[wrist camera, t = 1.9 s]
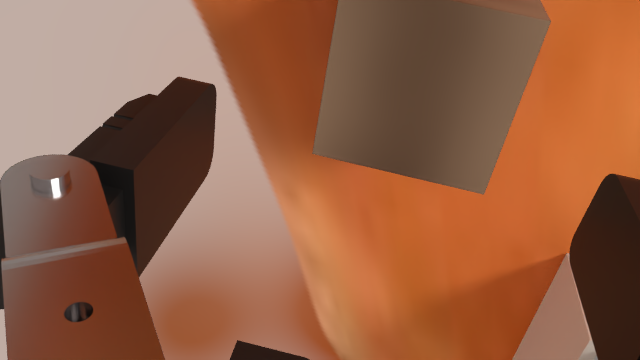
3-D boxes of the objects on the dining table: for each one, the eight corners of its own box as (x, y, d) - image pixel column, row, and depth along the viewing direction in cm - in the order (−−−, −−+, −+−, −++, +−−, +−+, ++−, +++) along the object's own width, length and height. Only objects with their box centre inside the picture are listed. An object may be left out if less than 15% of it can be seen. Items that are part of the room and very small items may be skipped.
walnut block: (523, -33, 18) (550, 21, 13) (476, 106, 21) (483, 194, 16) (371, -63, 18) (342, -23, 13) (345, 77, 21) (312, 153, 16)
